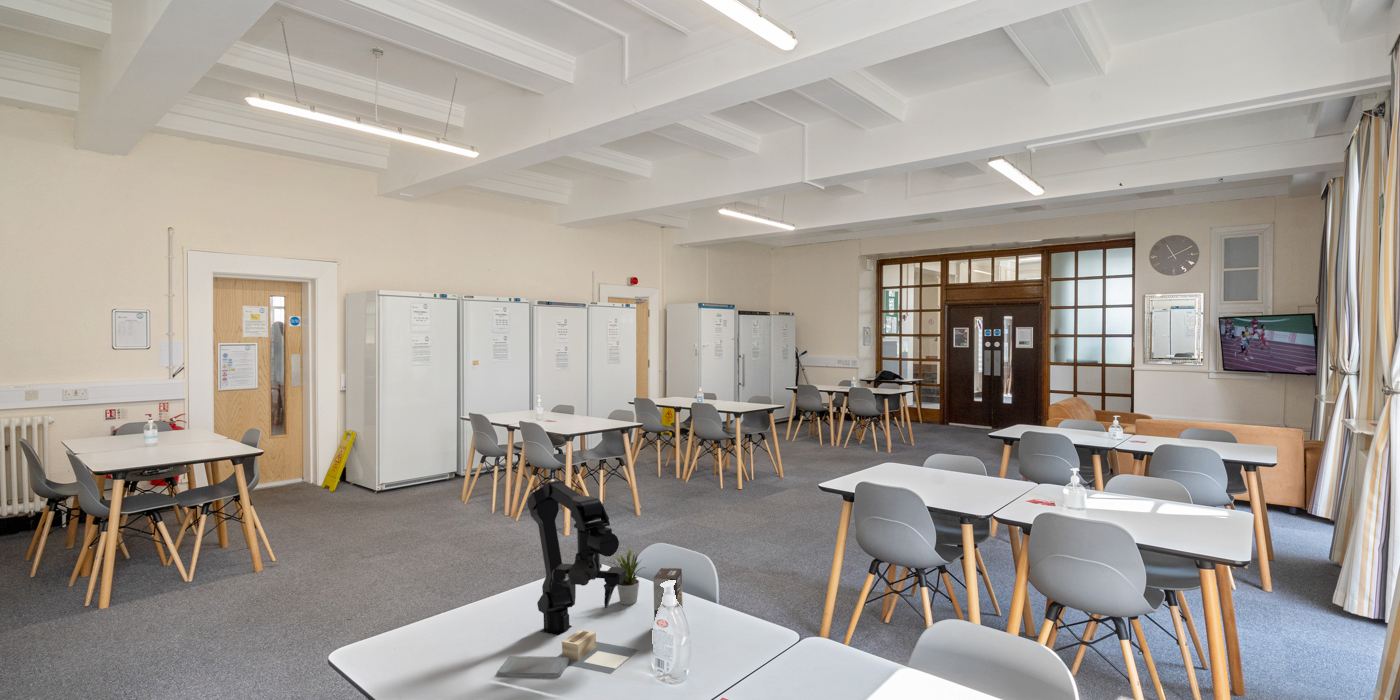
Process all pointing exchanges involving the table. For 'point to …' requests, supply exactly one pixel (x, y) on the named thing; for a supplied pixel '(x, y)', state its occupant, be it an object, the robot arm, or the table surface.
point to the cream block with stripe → (579, 644)
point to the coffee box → (659, 578)
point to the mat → (604, 658)
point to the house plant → (628, 580)
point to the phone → (533, 666)
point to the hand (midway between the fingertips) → (589, 606)
